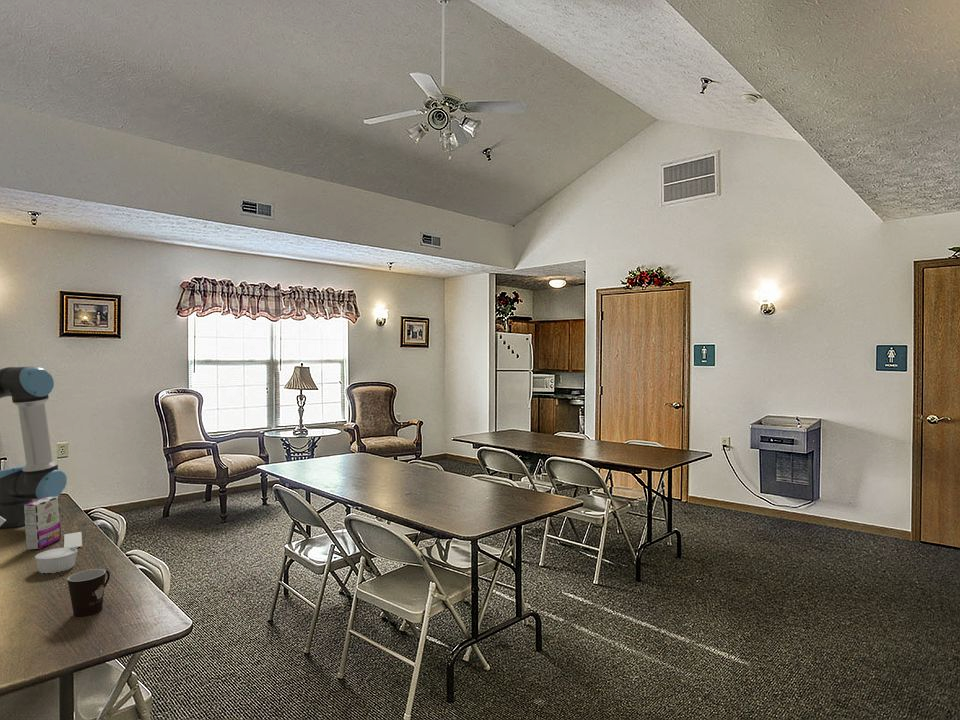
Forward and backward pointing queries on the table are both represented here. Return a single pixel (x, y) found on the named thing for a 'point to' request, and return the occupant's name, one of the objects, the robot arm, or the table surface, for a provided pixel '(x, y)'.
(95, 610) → the coffee mug
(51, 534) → the candy bar box
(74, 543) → the mat
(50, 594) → the table surface
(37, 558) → the ramekin
